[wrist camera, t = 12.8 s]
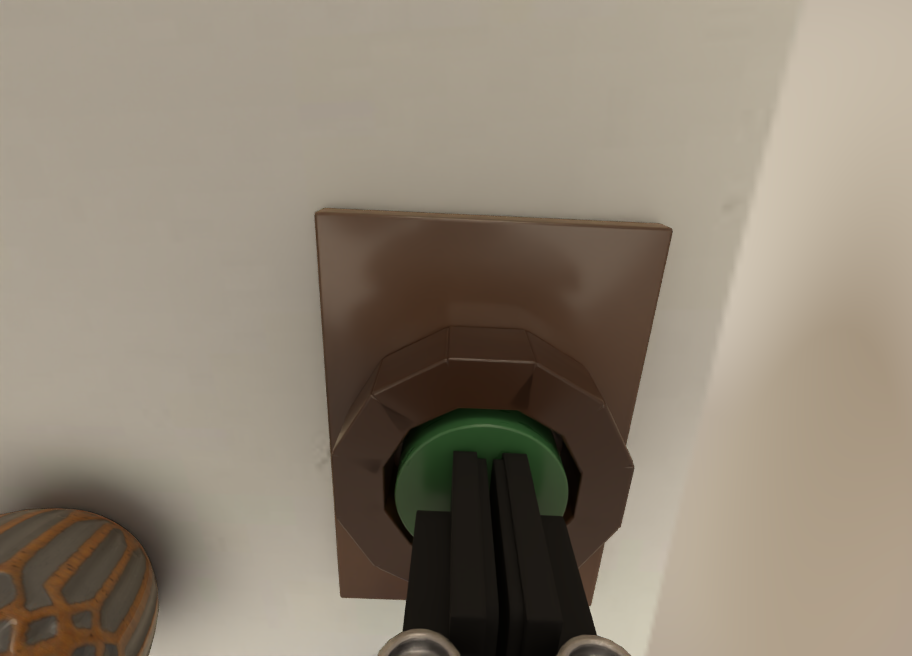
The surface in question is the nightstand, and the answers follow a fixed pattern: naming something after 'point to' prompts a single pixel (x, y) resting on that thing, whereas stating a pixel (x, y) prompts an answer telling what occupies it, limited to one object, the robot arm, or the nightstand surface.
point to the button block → (479, 358)
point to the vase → (73, 586)
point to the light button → (489, 435)
